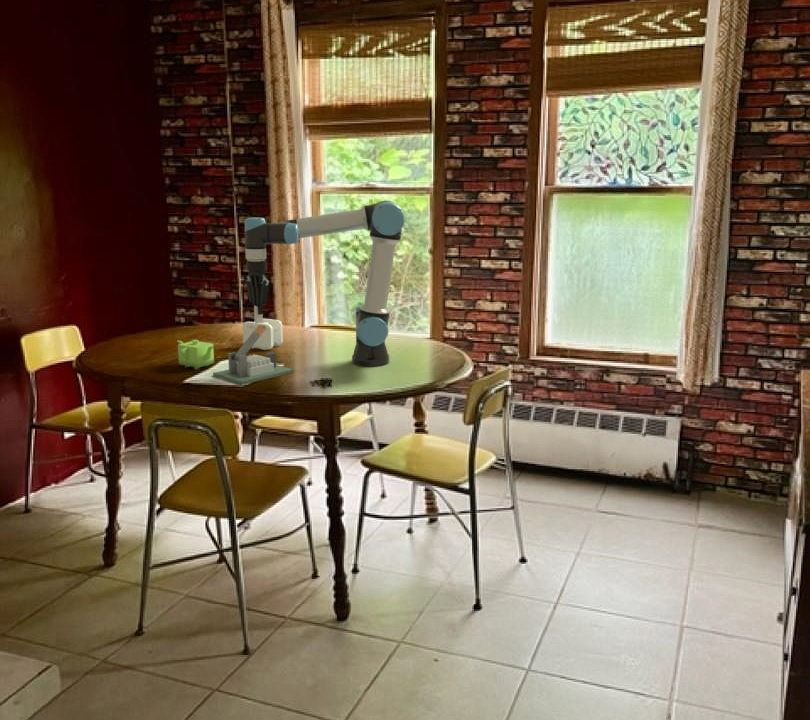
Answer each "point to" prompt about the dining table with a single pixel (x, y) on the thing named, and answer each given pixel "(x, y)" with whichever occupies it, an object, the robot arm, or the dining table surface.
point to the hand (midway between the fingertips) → (258, 322)
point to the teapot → (195, 354)
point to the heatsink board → (253, 378)
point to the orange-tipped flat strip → (249, 342)
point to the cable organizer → (264, 333)
